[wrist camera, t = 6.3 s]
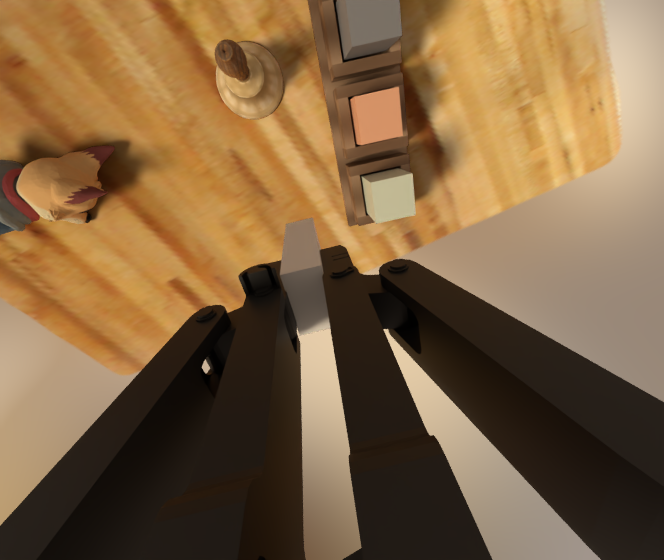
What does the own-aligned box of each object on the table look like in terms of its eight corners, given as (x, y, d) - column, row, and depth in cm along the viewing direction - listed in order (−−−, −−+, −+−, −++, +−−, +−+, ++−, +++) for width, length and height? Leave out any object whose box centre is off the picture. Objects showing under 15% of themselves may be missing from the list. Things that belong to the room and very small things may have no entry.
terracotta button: (347, 101, 39) (354, 96, 33) (385, 93, 39) (398, 86, 33) (353, 143, 41) (361, 145, 36) (389, 135, 41) (403, 135, 36)
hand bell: (248, 23, 36) (213, -50, 21) (297, 86, 39) (295, 60, 25) (202, 77, 38) (142, 43, 23) (252, 133, 41) (226, 134, 27)
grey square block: (335, 4, 33) (342, -21, 27) (380, -6, 33) (396, -33, 27) (343, 60, 35) (352, 46, 29) (386, 50, 35) (402, 35, 29)
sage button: (361, 176, 41) (370, 182, 35) (397, 167, 41) (412, 173, 35) (366, 212, 43) (376, 223, 37) (401, 204, 43) (415, 214, 37)
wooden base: (306, -6, 35) (307, -24, 31) (391, -24, 35) (403, -45, 31) (348, 225, 48) (353, 234, 43) (410, 211, 48) (421, 218, 43)
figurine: (5, 267, 41) (147, 234, 41) (-116, 216, 31) (73, 171, 31) (22, 211, 46) (151, 181, 46) (-79, 149, 35) (88, 110, 35)
